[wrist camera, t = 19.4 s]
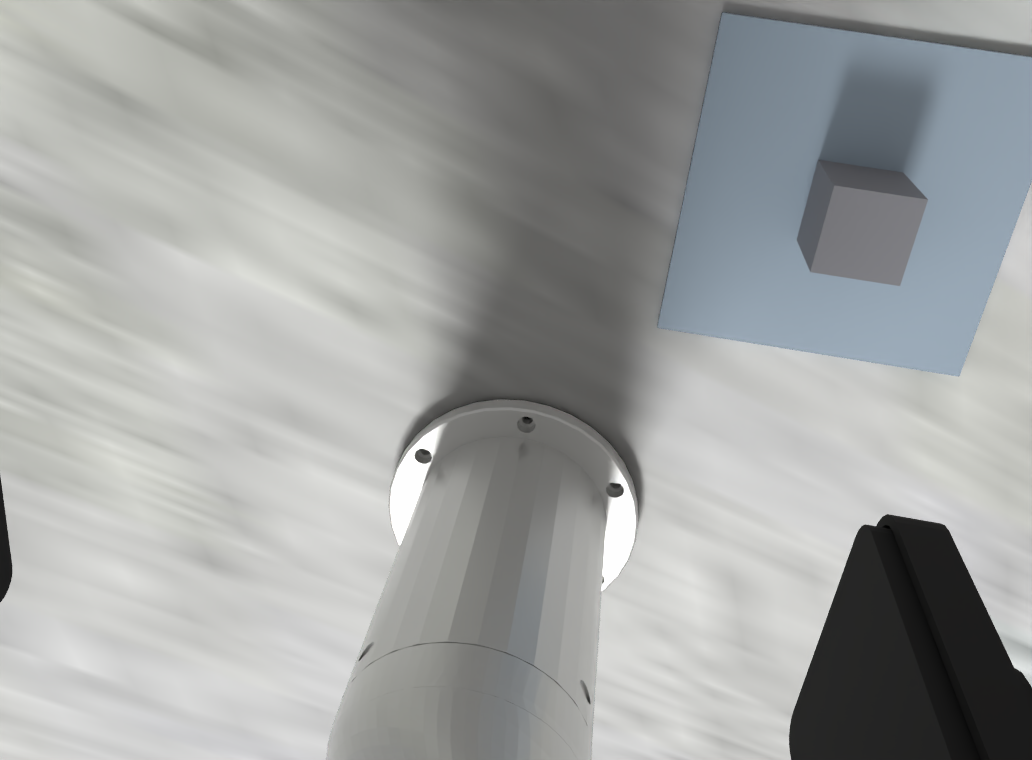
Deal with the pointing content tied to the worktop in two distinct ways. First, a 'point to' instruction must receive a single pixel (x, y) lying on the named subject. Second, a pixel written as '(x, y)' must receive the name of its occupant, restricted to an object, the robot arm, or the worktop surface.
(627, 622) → the worktop surface
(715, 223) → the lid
